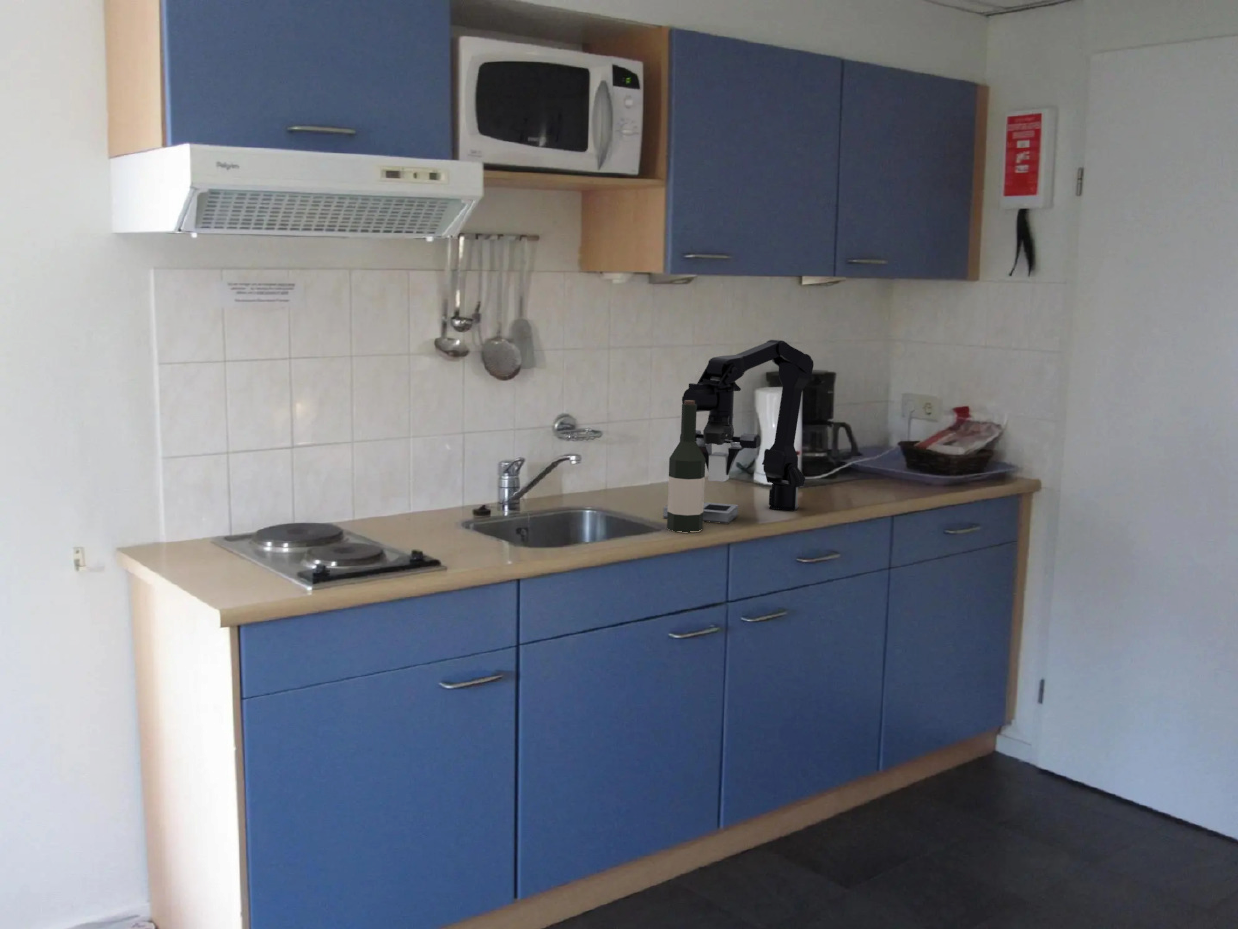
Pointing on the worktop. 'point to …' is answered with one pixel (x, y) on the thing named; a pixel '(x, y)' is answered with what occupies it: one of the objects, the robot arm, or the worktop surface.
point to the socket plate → (715, 512)
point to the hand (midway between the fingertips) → (718, 474)
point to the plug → (718, 467)
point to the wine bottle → (686, 477)
